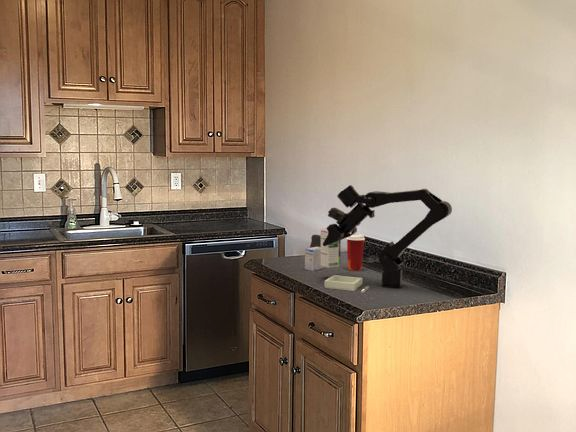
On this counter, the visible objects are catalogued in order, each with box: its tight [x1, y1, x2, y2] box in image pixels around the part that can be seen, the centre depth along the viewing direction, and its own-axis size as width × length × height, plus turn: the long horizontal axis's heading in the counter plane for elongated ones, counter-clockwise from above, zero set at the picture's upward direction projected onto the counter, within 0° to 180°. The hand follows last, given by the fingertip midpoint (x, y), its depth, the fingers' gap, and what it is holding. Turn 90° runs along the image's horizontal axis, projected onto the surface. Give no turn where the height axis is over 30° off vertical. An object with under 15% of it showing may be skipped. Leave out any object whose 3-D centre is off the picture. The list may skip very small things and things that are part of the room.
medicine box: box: [304, 247, 325, 272], centre depth 264 cm, size 8×4×9 cm, turn 141°
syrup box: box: [320, 227, 342, 269], centre depth 246 cm, size 6×6×14 cm
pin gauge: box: [360, 285, 370, 294], centre depth 228 cm, size 8×1×1 cm
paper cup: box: [345, 234, 366, 272], centre depth 265 cm, size 8×8×14 cm
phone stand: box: [309, 234, 321, 248], centre depth 277 cm, size 9×6×12 cm, turn 129°
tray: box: [323, 274, 363, 292], centre depth 234 cm, size 11×11×3 cm
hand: (327, 243), depth 246 cm, fingers closed on syrup box, 8 cm apart
